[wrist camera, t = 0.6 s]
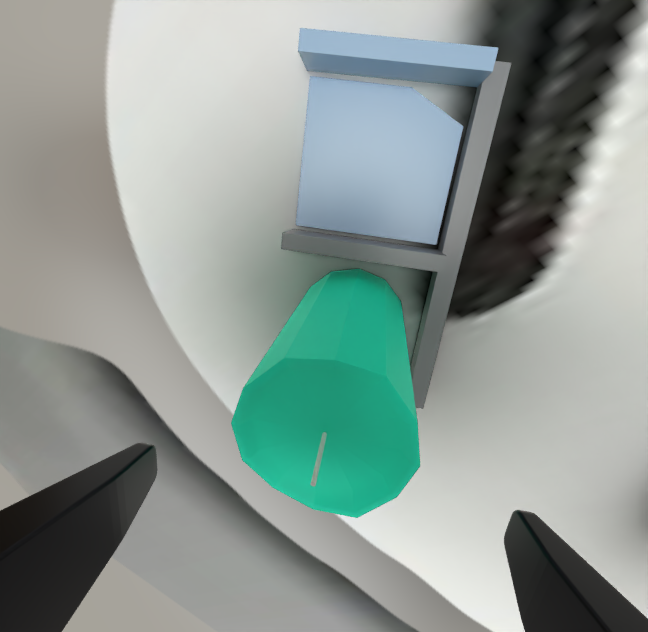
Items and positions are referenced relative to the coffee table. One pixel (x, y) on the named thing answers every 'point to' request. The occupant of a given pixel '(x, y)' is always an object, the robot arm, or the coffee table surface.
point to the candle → (334, 400)
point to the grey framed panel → (394, 161)
